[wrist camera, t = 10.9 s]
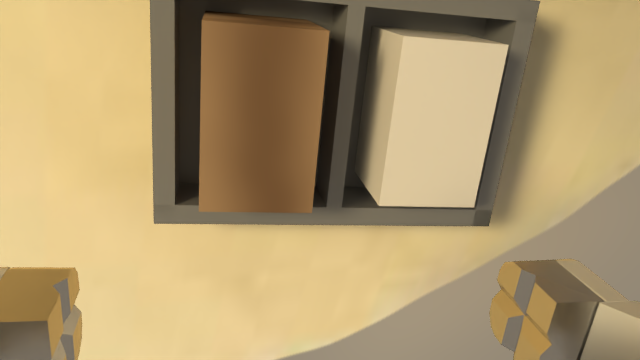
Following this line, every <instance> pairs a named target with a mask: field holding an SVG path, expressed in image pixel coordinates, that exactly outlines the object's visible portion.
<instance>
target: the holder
mask: <svg viewBox="0 0 640 360" xmlns="http://www.w3.org/2000/svg"><path fill="white" fill-rule="evenodd" d="M539 4H540V1H535V0H150V33H151V90H152V147H153V204H154V224H273V225H396V226H489V223H490V219H491V214H492V210H493V206H494V201H495V197H496V192H497V188H498V184H499V179H500V175H501V171H502V166H503V162H504V157H505V153H506V149H507V144H508V140H509V135H510V131H511V127H512V122H513V118H514V114H515V109H516V105H517V100H518V96H519V92H520V87H521V83H522V78H523V74H524V70H525V65H526V61H527V56H528V52H529V48H530V43H531V39H532V35H533V30H534V26H535V21H536V17H537V13H538V8H539ZM205 11H215V12H226V13H237V14H249V15H260V16H272V17H283V18H295V19H306V20H309V21H311V22H313V23H315V24H317V25H319V26H321V27H323V28H325V29H327V30H329V31H330V32H329V43H328V53H327V63H326V73H325V84H324V94H323V104H322V115H321V125H320V135H319V145H318V156H317V166H316V176H315V186H314V197H313V207H312V213H265V212H199V165H200V99H201V34H202V18H203V16H204V13H205ZM372 26H379V27H391V28H402V29H413V30H425V31H436V32H448V33H459V34H465V35H469V36H473V37H478V38H482V39H486V40H490V41H494V42H499V43H503V44H507V45H509V46H508V51H507V55H506V60H505V65H504V69H503V74H502V79H501V83H500V88H499V93H498V97H497V102H496V107H495V111H494V116H493V121H492V125H491V130H490V135H489V139H488V144H487V149H486V153H485V158H484V163H483V167H482V172H481V177H480V181H479V186H478V191H477V195H476V200H475V205H474V207H412V206H379V205H378V204H377V203H376V201H375V200H374V198H373V197H372V195H371V194H370V193H369V191H368V190H367V188H366V187H365V185H364V184H363V182H362V181H361V180H360V178H359V177H358V175H357V174H356V172H355V171H354V170H355V162H356V153H357V145H358V137H359V129H360V121H361V113H362V105H363V97H364V89H365V81H366V73H367V65H368V57H369V49H370V41H371V33H372Z"/></svg>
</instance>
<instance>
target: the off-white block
mask: <svg viewBox="0 0 640 360" xmlns="http://www.w3.org/2000/svg"><path fill="white" fill-rule="evenodd" d="M508 46H509V45H507V44H503V43H499V42H494V41H490V40H486V39H482V38H478V37H473V36H469V35H465V34H459V33H448V32H436V31H425V30H413V29H402V28H391V27H379V26H372V33H371V41H370V49H369V57H368V65H367V73H366V81H365V89H364V97H363V105H362V113H361V121H360V129H359V137H358V145H357V153H356V162H355V170H354V171H355V172H356V174H357V175H358V177H359V178H360V180H361V181H362V182H363V184H364V185H365V187H366V188H367V190H368V191H369V193H370V194H371V195H372V197H373V198H374V200H375V201H376V203H377V204H378V205H379V206H412V207H474V205H475V200H476V195H477V191H478V186H479V181H480V177H481V172H482V167H483V163H484V158H485V153H486V149H487V144H488V139H489V135H490V130H491V125H492V121H493V116H494V111H495V107H496V102H497V97H498V93H499V88H500V83H501V79H502V74H503V69H504V65H505V60H506V55H507V51H508Z"/></svg>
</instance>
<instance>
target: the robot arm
mask: <svg viewBox="0 0 640 360" xmlns="http://www.w3.org/2000/svg"><path fill="white" fill-rule="evenodd" d="M497 281H498V283H499V285H500V287H501V290H500V291H499V292H498V293H497V294H496V296H495V297H494V298H493V299H492V303H491V308H490V313H489V314H490V323H491V328H492V330H493V333H494V335H495V337H496V338H497V339H498V341H499V342H500V344H501V345H503V346H505V347H506V348H508V349H510V350H512V351H514V357H513V360H640V302H638V301H629V300H627V299H626V298H625V297H624V296H622V295H621V294H620V293H619V292H617V291H616V290H615V289H614V288H612V287H611V286H609V284H607V283H606V282H605V281H603V280H602V279H601V278H600V277H598V276H597V275H596V274H594V273H593V272H592V271H591V270H589V269H588V268H587V267H585V266H584V265H583V264H582V263H580V262H579V261H577V260H573V259H559V260H540V261H539V260H537V261H514V262H505V263H504V264H503V266H502V267H501V269H500V271H499V275H498V279H497ZM79 290H80V289H79V280H78V273H77V271H76V269H75V268H54V267H13V268H10V267H0V360H78V356H79V352H80V346H81V339H82V315H81V311H80V310H79V309H78V308H77V307H76V306H75V305H74V303H75V300H76V298H77V295H78V293H79Z"/></svg>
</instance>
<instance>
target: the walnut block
mask: <svg viewBox="0 0 640 360" xmlns="http://www.w3.org/2000/svg"><path fill="white" fill-rule="evenodd" d="M329 32H330V31H329V30H327V29H325V28H323V27H321V26H319V25H317V24H315V23H313V22H311V21H309V20H306V19H295V18H283V17H272V16H260V15H249V14H237V13H226V12H215V11H205V13H204V16H203V18H202V34H201V99H200V165H199V212H265V213H312V207H313V197H314V186H315V176H316V166H317V156H318V145H319V135H320V125H321V115H322V104H323V94H324V84H325V73H326V63H327V53H328V43H329Z"/></svg>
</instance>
